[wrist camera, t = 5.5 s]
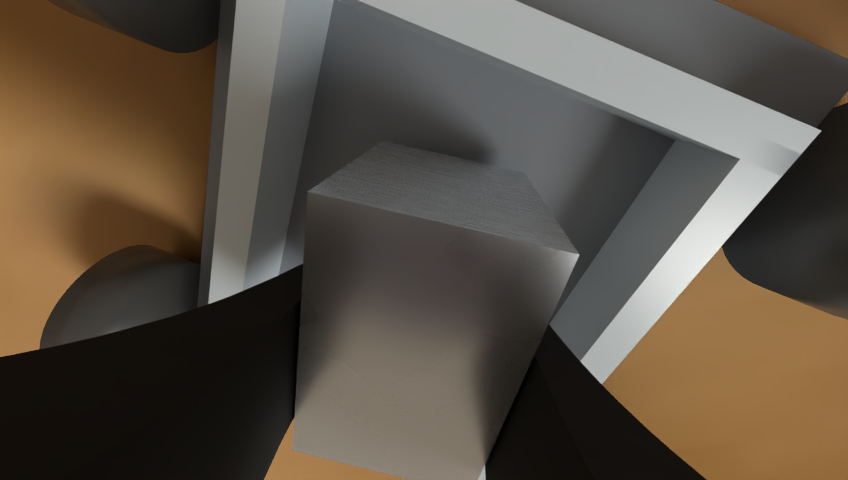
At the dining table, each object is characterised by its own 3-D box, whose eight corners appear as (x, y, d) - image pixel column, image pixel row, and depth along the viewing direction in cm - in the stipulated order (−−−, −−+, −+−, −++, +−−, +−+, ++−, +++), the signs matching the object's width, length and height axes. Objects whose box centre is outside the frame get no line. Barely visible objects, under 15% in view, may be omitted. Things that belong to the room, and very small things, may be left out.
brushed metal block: (524, 173, 9) (579, 254, 5) (469, 339, 12) (471, 494, 7) (383, 140, 9) (307, 191, 5) (358, 312, 12) (292, 450, 8)
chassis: (892, 96, 9) (1287, 112, 5) (556, 462, 17) (588, 599, 13) (182, -213, 8) (-147, -552, 4) (168, 324, 16) (52, 418, 12)
